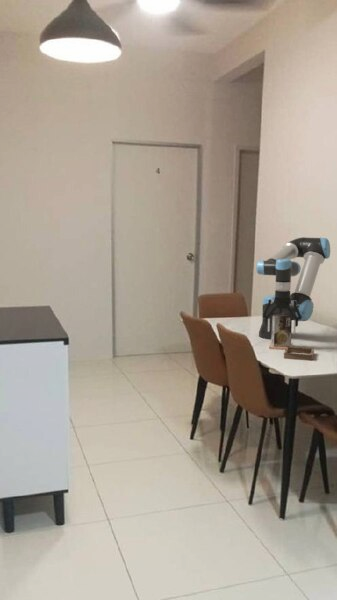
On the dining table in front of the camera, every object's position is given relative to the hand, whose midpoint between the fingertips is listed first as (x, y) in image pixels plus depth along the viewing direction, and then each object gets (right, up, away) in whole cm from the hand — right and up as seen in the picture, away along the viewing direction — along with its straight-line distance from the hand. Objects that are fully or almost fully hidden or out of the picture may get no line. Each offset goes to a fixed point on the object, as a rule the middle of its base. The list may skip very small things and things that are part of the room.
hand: (281, 331), depth 264 cm
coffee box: (0, -7, +1) cm, 7 cm away
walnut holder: (+5, -11, -16) cm, 20 cm away
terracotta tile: (0, -8, +1) cm, 8 cm away
